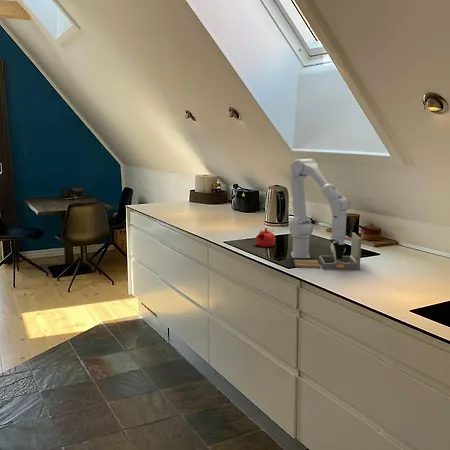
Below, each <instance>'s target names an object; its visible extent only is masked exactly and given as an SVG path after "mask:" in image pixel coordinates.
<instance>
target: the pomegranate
mask: <svg viewBox="0 0 450 450" xmlns="http://www.w3.org/2000/svg"><path fill="white" fill-rule="evenodd" d="M258 231H259V233H258V234H257V235H256V236H255V243H256V245H257V246H259V247H262V248H271V247H273V246H274V245H275V242H276V237H275V236H276V235H275V234H274V230H270V229H268V227H265V228H264V229H263V230H262V229H259V230H258Z"/></svg>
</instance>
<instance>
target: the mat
mask: <svg viewBox="0 0 450 450" xmlns="http://www.w3.org/2000/svg"><path fill="white" fill-rule="evenodd" d="M293 263H294V266H295V268H296V269H297V268H299V269H300V268H302V269H303V268H304V269H320V268H321V265H320V263H319V260H317V259H293Z"/></svg>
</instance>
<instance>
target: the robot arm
mask: <svg viewBox="0 0 450 450" xmlns="http://www.w3.org/2000/svg"><path fill="white" fill-rule="evenodd" d="M290 170H291V171H290V172H291V173H290V187H291V196H292V206H293V218H291V220H290V226H289V233H290V235H291V238H292V252H290V255H291V257H292V259H311V256H310V254H309V251H310V250H309V249H310V237H311V235H312V234H313V232H314V227H313V226H314V225H313V224H312V221H311V218H310V217H309V216H308V214H307V207H306V206H307V205H306V199H305V198H306V197H305V196H306V195H305V188H304V186H305V185H304V180H305V179H306V178H307V177H308V176H309V177H311V178H312V179H313V180H314V181H315V182H316V184H318V186H319V187H320V188H321V194H322V195H323V196H324V197H325V199H326V200H327V201H328V203H329V208H330V210H331V215H332V218H331V219H332V221H331V222H332V224H331V236H330V239H329V241H330V243H331V244H332V242H333V241H335V240H337V241H338V243H333V245H334V247H335V252H336V259H337V260H342V257H343V256H344V253H345V252H344V250H345V248H347V246H348V243H345V240H346V239H349V236H348V235H346V233H347V232H346V231H347V213H348V212H347V211H348V209H350V207H351V203H350V200H349V198H348V197H347V196H343V195H342V193H340V191H338V189H337V188H336V185H335V184H333V183H330V182H328V181H327V179H326V178H325V176H324V174H322V171H321V170H320V169H319V164H318V163H317V162H316V161H315V159H313V158H311V157H310V158H302V159H301V158H296V159H295V160H293V162H292V163H291V164H290ZM344 243H345V244H344ZM331 244H330V245H331ZM345 251H346V250H345Z"/></svg>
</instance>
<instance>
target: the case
mask: <svg viewBox="0 0 450 450" xmlns="http://www.w3.org/2000/svg"><path fill="white" fill-rule="evenodd" d="M350 245H351V247H350V248H351V250H350V255H343V257H342V260H341V263H334V255H318V263H319V265H320V267H321V268H322V270H332V271H333V270H335V271H337V270H341V271H346V270H347V271H360V270H361V255H362V238H361V237H360V236H359V235H358V234H356V232H351V244H350Z"/></svg>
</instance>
